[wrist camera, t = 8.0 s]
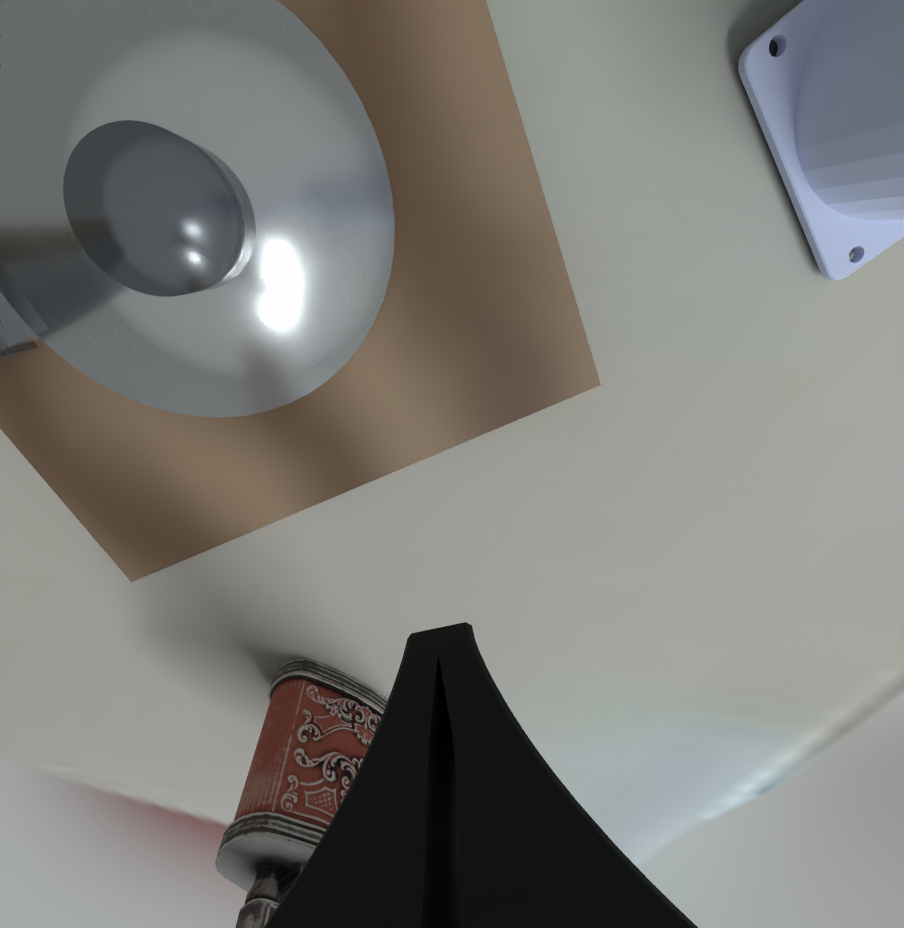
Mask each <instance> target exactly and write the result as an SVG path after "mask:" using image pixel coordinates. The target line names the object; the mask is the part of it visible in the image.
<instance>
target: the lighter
mask: <svg viewBox="0 0 904 928" xmlns="http://www.w3.org/2000/svg"><path fill="white" fill-rule="evenodd" d="M268 698H269V702H270V705H269V708H268V711H267V714H266V718H265V721H264V724H263V727H262V731H261V734H260V737H259V740H258V744H257V747H256V750H255V753H254V757H253V760H252V763H251V766H250V770H249V773H248V776H247V779H246V783H245V786H244V789H243V792H242V796H241V799H240V802H239V805H238V809H237V812H236V815H235V819H234V821H233V822H232V823H231V824H230V825H229V826H228V828H227V829H226V830H225V833H224V836H223V839H222V842H221V845H220V848H219V852H218V855H217V858H216V862H215V864H216V868H217V871H218V872H219V873H220V874H221V875H222V876H223V877H224V878H226V879H228V880H229V881H231V882H233V883H234V884H236V885H237V886H239V887H241V888H242V889H244V890H246V891H247V892H249V893H248V895H247V897H246V901H245V905H244V906H243V907H242V908H241V909H240V913H239V916H238V920H237V924H236V928H264V926H265V925H266V923H267V922H268V920H269V919H270V917H271V916H272V914H273V913H274V911H275V910H276V908H277V907H278V905H279V904H280V903H281V901H282V900H283V898H284V897H285V895H286V894H287V892H288V891H289V889H290V888H291V886H292V885H293V883H294V882H295V880H296V879H297V877H298V876H299V874H300V872H301V871H302V869H303V868H304V866H305V864H306V863H307V861H308V860H309V858H310V856H311V855H312V853H313V851H314V850H315V848H316V846H317V845H318V843H319V841H320V839H321V838H322V836H323V834H324V833H325V831H326V829H327V828H328V826H329V824H330V822H331V821H332V819H333V817H334V815H335V814H336V812H337V810H338V808H339V806H340V804H341V802H342V801H343V799H344V797H345V795H346V793H347V791H348V789H349V787H350V785H351V783H352V781H353V779H354V777H355V775H356V773H357V771H358V769H359V767H360V765H361V763H362V761H363V759H364V756H365V754H366V752H367V750H368V747H369V745H370V743H371V741H372V738H373V736H374V734H375V732H376V729H377V727H378V725H379V722H380V720H381V717H382V715H383V712H384V710H385V707H386V704H387V702H388V700H387V699H385V698H384V697H383V696H381V695H380V694H379V693H377V692H376V691H375V690H373V689H372V688H370V687H368V686H366V685H365V684H363V683H361V682H359V681H357V680H356V679H354V678H352V677H350V676H348V675H347V674H345V673H342V672H340V671H338V670H335V669H333V668H331V667H328V666H326V665H324V664H321V663H319V662H317V661H314V660H310V659H295V660H292V661H289V662H287V663H285V664H284V665H282V666H281V667H280V668H279V669H278V670H277V671H276V673H275V675H274V678H273V681H272V684H271V687H270V691H269V695H268Z"/></svg>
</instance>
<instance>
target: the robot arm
mask: <svg viewBox="0 0 904 928" xmlns="http://www.w3.org/2000/svg"><path fill="white" fill-rule="evenodd" d="M771 40H774V41H775V42H776V43H777V48H778V50H777V53H776V56H775V57H773V56H772V55H771V54H770V53H769V45H770V41H771ZM738 70H739V75H740V78H741V80H742V82H743V85H744V87H745V90H746V92H747V95H748V97H749V99H750V102H751V104H752V107H753V109H754V112H755V114H756V116H757V119H758V121H759V124H760V126H761V129H762V131H763V133H764V136H765V138H766V141H767V143H768V146H769V148H770V150H771V153H772V155H773V158H774V160H775V163H776V165H777V167H778V170H779V172H780V175H781V177H782V180H783V182H784V184H785V187H786V189H787V192H788V194H789V196H790V199H791V201H792V204H793V206H794V209H795V211H796V213H797V216H798V218H799V221H800V223H801V226H802V228H803V230H804V233H805V235H806V238H807V240H808V243H809V245H810V247H811V250H812V252H813V255H814V257H815V260H816V262H817V264H818V267H819V269H820V272H821V274H822V275H823V277H824V278H827V279H830V280H840V279H843V278H845V277H847V276H848V275H849V274H851V273H852V272H854V271H855V270H857V269H858V268H859V267H861V266H862V265H864V264H865V263H867V262H868V261H869V260H871V259H872V258H874V257H875V256H877V255H878V254H879V253H881V252H882V251H884V250H885V249H886V248H888V247H889V246H891V245H892V244H894V243H895V242H896V241H898V240H899V239H901V238H902V237H904V0H803V1H801V2H800V3H799V4H798V5H797V6H795V7H794V8H793V9H792V10H790V11H789V12H788V13H787V14H786V15H784V16H783V17H782V18H781V19H780V20H778V21H777V22H776V23H775V24H774V25H772V26H771V27H770V28H769V29H767V30H766V31H765V32H764V33H763V34H761V35H760V36H759V37H758V38H757V39H755V40H754V41H753V42H752V43H751V44H749V45H748V46H747V47H746V48H745V50H744V51H743V52H742V54H741V56H740V59H739V64H738ZM853 248H854V252H855V254H854V256H853V258H852V259H851V260H849V254H850V251H851V250H852V249H853ZM264 928H698V927H697V926H696V925H695V924H694V923H692V921H690V920H689V919H688V918H687V917H686V916H685V915H684V914H683V913H682V912H681V911H680V910H679V909H678V908H677V907H676V906H675V905H674V904H673V903H671V901H670V900H669V899H668V898H667V897H666V896H665V895H664V894H662V893H661V892H660V890H658V889H657V888H656V886H654V885H653V884H652V883H651V882H650V881H649V880H648V879H647V878H646V877H645V875H644V874H643V873H642V872H641V871H640V870H639V869H638V868H637V867H636V866H635V865H634V864H633V863H632V862H631V861H630V860H629V859H628V858H627V857H626V856H625V855H624V853H623V852H622V851H621V850H620V849H619V848H618V847H617V846H616V845H615V844H614V843H613V842H612V841H611V839H610V838H609V837H608V836H607V835H606V834H605V833H604V831H603V830H602V829H601V828H600V827H599V826H598V825H597V823H596V822H595V821H594V820H593V819H592V818H591V817H590V816H589V814H588V813H587V812H586V811H585V810H584V809H583V808H582V806H581V805H580V804H579V803H578V802H577V801H576V800H575V798H574V797H573V796H572V795H571V793H570V792H569V791H568V790H567V788H566V787H565V786H564V785H563V783H562V782H561V781H560V780H559V778H558V777H557V776H556V775H555V773H554V772H553V771H552V769H551V768H550V767H549V765H548V764H547V763H546V761H545V760H544V759H543V757H542V756H541V755H540V753H539V752H538V751H537V749H536V748H535V746H534V745H533V743H532V742H531V741H530V739H529V738H528V736H527V735H526V733H525V732H524V730H523V729H522V727H521V726H520V724H519V723H518V721H517V720H516V718H515V717H514V715H513V713H512V712H511V710H510V709H509V707H508V705H507V704H506V702H505V700H504V698H503V697H502V695H501V693H500V691H499V690H498V688H497V686H496V684H495V683H494V681H493V679H492V677H491V675H490V673H489V671H488V669H487V667H486V665H485V663H484V661H483V658H482V656H481V654H480V652H479V649H478V647H477V644H476V641H475V638H474V633H473V629H472V625H470V624H468V623H466V622H465V623H460V624H455V625H450V626H446V627H441V628H436V629H431V630H426V631H422V632H417V633H412V634H411V635H410V636H409V638H408V639H407V643H406V647H405V651H404V655H403V658H402V662H401V665H400V668H399V671H398V674H397V677H396V680H395V683H394V686H393V689H392V691H391V694H390V697H389V699H388V702H387V704H386V707H385V710H384V712H383V715H382V717H381V720H380V722H379V725H378V727H377V729H376V732H375V734H374V736H373V738H372V741H371V743H370V745H369V747H368V750H367V752H366V754H365V756H364V759H363V761H362V763H361V765H360V767H359V769H358V771H357V773H356V775H355V777H354V779H353V781H352V783H351V785H350V787H349V789H348V791H347V793H346V795H345V797H344V799H343V801H342V802H341V804H340V806H339V808H338V810H337V812H336V814H335V815H334V817H333V819H332V821H331V822H330V824H329V826H328V828H327V829H326V831H325V833H324V834H323V836H322V838H321V839H320V841H319V843H318V845H317V846H316V848H315V850H314V851H313V853H312V855H311V856H310V858H309V860H308V861H307V863H306V864H305V866H304V868H303V869H302V871H301V872H300V874H299V876H298V877H297V879H296V880H295V882H294V883H293V885H292V886H291V888H290V889H289V891H288V892H287V894H286V895H285V897H284V898H283V900H282V901H281V903H280V904H279V905H278V907H277V908H276V910H275V911H274V913H273V914H272V916H271V917H270V919H269V920H268V922H267V923H266V925H265V926H264Z"/></svg>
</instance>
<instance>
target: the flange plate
mask: <svg viewBox="0 0 904 928" xmlns="http://www.w3.org/2000/svg"><path fill="white" fill-rule="evenodd" d="M394 251H395V216H394V205H393V196H392V191H391V186H390V181H389V176H388V171H387V167H386V163H385V160H384V157H383V154H382V151H381V148H380V145H379V142H378V139H377V136H376V133H375V130H374V128H373V126H372V124H371V121H370V119H369V117H368V115H367V113H366V110H365V108H364V106H363V104H362V102H361V100H360V98H359V96H358V95H357V93H356V91H355V90H354V88H353V86H352V85H351V83H350V81H349V80H348V78H347V76H346V75H345V73H344V71H343V70H342V68H341V67H340V66H339V65H338V63H337V62H336V61H335V59H334V58H333V57H332V55H331V54H330V53H329V51H328V50H327V49H326V47H325V46H324V45H323V44H322V42H321V41H320V40H319V39H318V38H317V37H316V36H315V35H314V34H313V33H312V32H311V31H310V30H309V29H308V28H307V27H306V26H305V24H304V23H303V22H302V21H301V20H300V19H299V18H298V17H297V16H296V15H295V14H293V13H292V12H291V11H290V10H288V9H287V8H286V7H285V6H284V5H282V4H281V3H280V2H279V1H277V0H0V364H2V363H4V362H6V361H9V360H11V359H13V358H15V357H17V356H20V355H22V354H24V353H26V352H28V351H31V350H33V349H35V348H37V345H36V344H35V343H34V341H37V340H39V339H42V340H43V341H44V342H45V343H46V344H47V345H48V346H49V347H50V348H51V349H52V350H53V351H54V352H56V353H57V354H58V355H59V356H61V357H62V358H63V359H64V360H65V361H67V362H68V363H69V364H70V365H72V366H73V367H74V368H76V369H77V370H79V371H80V372H82V373H83V374H85V375H86V376H88V377H89V378H91V379H92V380H94V381H95V382H97V383H99V384H101V385H103V386H105V387H107V388H108V389H110V390H112V391H114V392H116V393H118V394H120V395H122V396H124V397H127V398H129V399H132V400H134V401H137V402H139V403H142V404H144V405H147V406H151V407H154V408H158V409H161V410H165V411H168V412H172V413H178V414H184V415H190V416H197V417H218V418H222V417H236V416H246V415H251V414H256V413H261V412H266V411H269V410H272V409H275V408H278V407H281V406H284V405H287V404H289V403H291V402H293V401H295V400H297V399H299V398H301V397H303V396H305V395H307V394H309V393H310V392H312V391H313V390H315V389H316V388H318V387H319V386H321V385H322V384H323V383H325V382H326V381H328V380H329V379H330V378H331V377H332V376H333V375H334V374H335V373H336V372H338V371H339V370H340V369H341V368H342V367H343V366H344V365H345V364H346V363H347V361H348V360H349V359H350V358H351V357H352V355H353V354H354V353H355V352H356V350H357V349H358V348H359V347H360V345H361V343H362V342H363V340H364V338H365V337H366V335H367V334H368V332H369V330H370V329H371V327H372V325H373V323H374V321H375V319H376V316H377V314H378V312H379V310H380V307H381V305H382V303H383V300H384V297H385V294H386V290H387V287H388V283H389V280H390V277H391V270H392V264H393V257H394Z"/></svg>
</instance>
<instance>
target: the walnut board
mask: <svg viewBox="0 0 904 928" xmlns="http://www.w3.org/2000/svg"><path fill="white" fill-rule="evenodd" d="M277 1H279V2H280V3H281V4H282V5H284V6H285V7H286V8H287V9H288V10H290V11H291V12H292V13H293V14H295V15H296V16H297V17H298V18H299V19H300V20H301V21H302V22H303V23H304V24H305V26H306V27H307V28H308V29H309V30H310V31H311V32H312V33H313V34H314V35H315V36H316V37H317V38H318V39H319V40H320V41H321V42H322V44H323V45H324V46H325V47H326V49H327V50H328V51H329V53H330V54H331V55H332V57H333V58H334V59H335V61H336V62H337V63H338V65H339V66H340V67H341V68H342V70H343V71H344V73H345V75H346V76H347V78H348V80H349V81H350V83H351V85H352V86H353V88H354V90H355V91H356V93H357V95H358V96H359V98H360V100H361V102H362V104H363V106H364V108H365V110H366V113H367V115H368V117H369V119H370V121H371V124H372V126H373V128H374V130H375V133H376V136H377V139H378V142H379V145H380V148H381V151H382V154H383V157H384V160H385V163H386V167H387V171H388V176H389V181H390V186H391V191H392V196H393V205H394V216H395V251H394V257H393V264H392V270H391V277H390V280H389V283H388V287H387V290H386V294H385V297H384V300H383V303H382V305H381V307H380V310H379V312H378V314H377V316H376V319H375V321H374V323H373V325H372V327H371V329H370V330H369V332H368V334H367V335H366V337H365V338H364V340H363V342H362V343H361V345H360V347H359V348H358V349H357V350H356V352H355V353H354V354H353V355H352V357H351V358H350V359H349V360H348V361H347V363H346V364H345V365H344V366H343V367H342V368H341V369H340V370H339V371H338V372H336V373H335V374H334V375H333V376H332V377H331V378H330V379H329V380H328V381H326V382H325V383H323V384H322V385H321V386H319V387H318V388H316V389H315V390H313V391H312V392H310V393H309V394H307V395H305V396H303V397H301V398H299V399H297V400H295V401H293V402H291V403H289V404H287V405H284V406H281V407H278V408H275V409H272V410H269V411H266V412H261V413H256V414H251V415H246V416H236V417H222V418H218V417H197V416H190V415H184V414H178V413H172V412H168V411H165V410H161V409H158V408H154V407H151V406H147V405H144V404H142V403H139V402H137V401H134V400H132V399H129V398H127V397H124V396H122V395H120V394H118V393H116V392H114V391H112V390H110V389H108V388H107V387H105V386H103V385H101V384H99V383H97V382H95V381H94V380H92V379H91V378H89V377H88V376H86V375H85V374H83V373H82V372H80V371H79V370H77V369H76V368H74V367H73V366H72V365H70V364H69V363H68V362H67V361H65V360H64V359H63V358H62V357H61V356H59V355H58V354H57V353H56V352H54V351H53V350H52V349H51V348H50V347H49V346H48V345H47V344H46V343H45V342H44V341H43V340H42V339H39V340H37V341H34V343H35V344H36V345H37V348H35V349H33V350H31V351H28V352H26V353H24V354H22V355H20V356H17V357H15V358H13V359H11V360H9V361H6V362H4V363H2V364H0V429H1V430H2V431H3V432H4V433H5V434H6V436H7V437H8V438H9V439H10V440H11V441H12V443H13V444H14V445H15V446H16V447H17V448H18V450H19V451H20V452H21V453H22V454H23V455H24V457H25V458H26V459H27V460H28V461H29V463H30V464H31V465H32V466H33V467H34V468H35V470H36V471H37V472H38V473H39V474H40V475H41V477H42V478H43V479H44V480H45V481H46V482H47V484H48V485H49V486H50V487H51V488H52V489H53V491H54V492H55V493H56V494H57V495H58V497H59V498H60V499H61V500H62V501H63V502H64V504H65V505H66V506H67V507H68V508H69V509H70V511H71V512H72V513H73V514H74V515H75V516H76V518H77V519H78V520H79V521H80V522H81V523H82V525H83V526H84V527H85V528H86V529H87V531H88V532H89V533H90V534H91V535H92V536H93V538H94V539H95V540H96V541H97V542H98V543H99V545H100V546H101V547H102V548H103V549H104V550H105V552H106V553H107V554H108V555H109V556H110V557H111V559H112V560H113V561H114V562H115V563H116V565H117V566H118V567H119V568H120V569H121V570H122V572H123V573H124V574H125V575H126V576H127V577H128V579H129V580H130V581H131V582H133V581H135V580H138V579H140V578H142V577H145V576H147V575H149V574H152V573H154V572H157V571H159V570H161V569H164V568H166V567H169V566H171V565H173V564H176V563H178V562H180V561H183V560H185V559H188V558H190V557H192V556H195V555H197V554H199V553H202V552H204V551H207V550H209V549H211V548H214V547H216V546H218V545H221V544H223V543H226V542H228V541H230V540H233V539H235V538H237V537H240V536H242V535H245V534H247V533H249V532H252V531H254V530H257V529H259V528H261V527H264V526H266V525H268V524H271V523H273V522H276V521H278V520H280V519H283V518H285V517H287V516H290V515H292V514H295V513H297V512H299V511H302V510H304V509H306V508H309V507H311V506H314V505H316V504H318V503H321V502H323V501H326V500H328V499H330V498H333V497H335V496H337V495H340V494H342V493H345V492H347V491H349V490H352V489H354V488H356V487H359V486H361V485H364V484H366V483H368V482H371V481H373V480H375V479H378V478H380V477H383V476H385V475H387V474H390V473H392V472H394V471H397V470H399V469H402V468H404V467H406V466H409V465H411V464H414V463H416V462H418V461H421V460H423V459H425V458H428V457H430V456H433V455H435V454H437V453H440V452H442V451H444V450H447V449H449V448H452V447H454V446H456V445H459V444H461V443H463V442H466V441H468V440H471V439H473V438H475V437H478V436H480V435H482V434H485V433H487V432H490V431H492V430H494V429H497V428H499V427H502V426H504V425H506V424H509V423H511V422H513V421H516V420H518V419H521V418H523V417H525V416H528V415H530V414H532V413H535V412H537V411H540V410H542V409H544V408H547V407H549V406H551V405H554V404H556V403H559V402H561V401H563V400H566V399H568V398H570V397H573V396H575V395H578V394H580V393H582V392H585V391H587V390H590V389H592V388H594V387H597V386H599V385H601V384H600V381H599V377H598V374H597V371H596V367H595V364H594V361H593V357H592V354H591V351H590V347H589V344H588V341H587V337H586V334H585V331H584V327H583V324H582V321H581V317H580V314H579V311H578V307H577V304H576V301H575V297H574V294H573V291H572V287H571V284H570V281H569V277H568V274H567V271H566V267H565V264H564V261H563V257H562V254H561V251H560V247H559V244H558V241H557V237H556V234H555V230H554V227H553V224H552V220H551V217H550V214H549V210H548V207H547V204H546V200H545V197H544V194H543V190H542V187H541V184H540V180H539V177H538V174H537V170H536V167H535V164H534V160H533V157H532V154H531V150H530V147H529V144H528V140H527V137H526V134H525V130H524V127H523V124H522V120H521V117H520V114H519V110H518V107H517V104H516V100H515V97H514V94H513V90H512V87H511V84H510V80H509V77H508V74H507V70H506V67H505V64H504V60H503V57H502V53H501V50H500V47H499V43H498V40H497V37H496V33H495V30H494V27H493V23H492V20H491V17H490V13H489V10H488V7H487V3H486V0H277Z"/></svg>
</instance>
